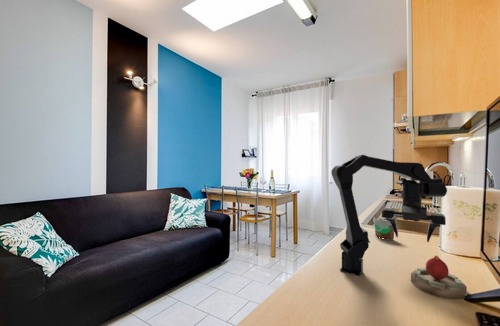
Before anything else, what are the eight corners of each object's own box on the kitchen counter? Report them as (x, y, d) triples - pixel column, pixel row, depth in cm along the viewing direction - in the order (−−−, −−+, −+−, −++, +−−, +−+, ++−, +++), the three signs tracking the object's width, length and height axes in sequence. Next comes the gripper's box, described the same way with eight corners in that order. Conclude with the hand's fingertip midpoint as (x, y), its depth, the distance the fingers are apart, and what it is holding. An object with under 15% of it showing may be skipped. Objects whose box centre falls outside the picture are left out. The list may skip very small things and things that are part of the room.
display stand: (409, 288, 74) (409, 278, 74) (411, 272, 85) (411, 263, 85) (469, 304, 66) (469, 293, 66) (463, 284, 77) (463, 274, 77)
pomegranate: (426, 274, 79) (425, 250, 79) (448, 279, 76) (448, 254, 76) (425, 281, 75) (425, 256, 75) (449, 286, 71) (448, 260, 71)
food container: (367, 234, 130) (367, 216, 130) (376, 233, 131) (376, 216, 131) (386, 242, 118) (386, 222, 118) (396, 240, 120) (396, 221, 120)
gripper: (379, 197, 84) (379, 240, 84) (446, 202, 73) (446, 251, 73) (384, 193, 93) (384, 232, 93) (444, 198, 82) (444, 242, 82)
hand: (411, 239), depth 85 cm, fingers open, 9 cm apart
